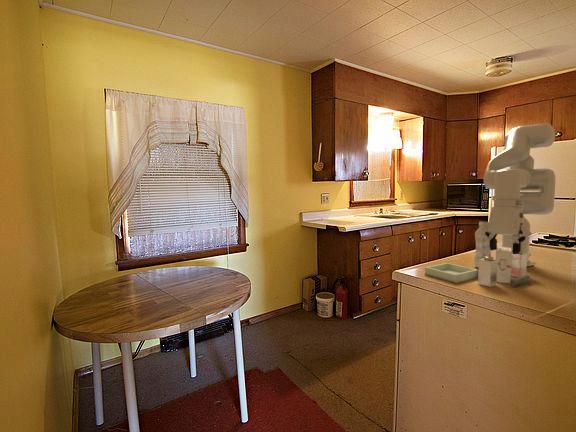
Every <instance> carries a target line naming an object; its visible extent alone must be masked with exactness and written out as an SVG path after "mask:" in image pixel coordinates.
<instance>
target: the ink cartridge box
mask: <svg viewBox="0 0 576 432" xmlns="http://www.w3.org/2000/svg"><path fill="white" fill-rule="evenodd" d="M512 250H513V246H512V241H511V248H505V247H502V246H497V249H496V250H495V260H498V261H497V283H501V284H508V285H511V279H512V276H511V270H512Z"/></svg>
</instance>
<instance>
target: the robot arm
mask: <svg viewBox="0 0 576 432" xmlns="http://www.w3.org/2000/svg"><path fill="white" fill-rule="evenodd" d="M555 139H556V132H555V129H554V127H553V126H552V125H551V124H550V123H545V122H544V123H543V122H542V123H535V124H527V125H520V126H517V127H514V128H511V130H509V132H508V133H506V135H505V136H504V139H503V141H504V143H503V144H504V148H503V151H501V152H500V153H498V154H497V155H495V156H494V157H493V158H492V159H491V160H489V162H488V163H487V165H486V168H485V171H484V175H483V184H484V187H485V188H487V189H489V190H494V191H493V192H494V194H493V199H494V201H493V206H492V207H491V210H490V213H489V216H488V217H489V218H488V222H489V224H487V225H486V226H484V227H483V228H482V230H483V232H484V233H485V235H486V236H487V237H488V239H489V240H490V251H496V249H497V247H498V239H497V236H498V235H502V241H501V242H502V243H501V247H505V248H511V241H512V246H513V250H512V252H513V254H519V252H520V251H523V253H526V254H527V267H532V266H534V263H533V261H531V260H529V259H530V258H531V257H532V253H531V252H530V240H531V239H530V237H531V236H532V234H533V233H532V232H531V224H530V221H529V220H528V219H527V218H526V217H525V215H538V216H539V215H545V216H546V215H550V214H551V213H552V212H553V211H554V207H555V196H556V195H555V194H556V174H555V172H554V170H552V169H551V168H534V167H535V159H534V157H532V155H531V154H530V153H531V149H537V148H548V147H551V146H552V145H553V143H554V142H555ZM488 229H489V230H488Z"/></svg>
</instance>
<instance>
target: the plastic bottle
mask: <svg viewBox="0 0 576 432" xmlns="http://www.w3.org/2000/svg"><path fill="white" fill-rule="evenodd" d="M487 224H489V221H483V220H482V221H479V223H478V228H477V230H475V232H474V238H475V253H474V258H473V264H474V267H475V268H477V269H479V259H483V258H484V256H490V257H492V256H491V255H492V254H491V253H492V252H491V251H492V250H490V240H489V239H488V237H487V236H486V235H485V233H484V232H483V230H482V228H483V227H484V226H486V225H487ZM488 230H489V229H488Z"/></svg>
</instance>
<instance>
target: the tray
mask: <svg viewBox="0 0 576 432" xmlns="http://www.w3.org/2000/svg"><path fill="white" fill-rule="evenodd" d="M478 272H479V269H478V268H477V269H476V268H472V267H468V266H462V265H458V264H455V263H450V262H445V263H438V264H435V265H430V266H425V267H424V275H426V274H427V275H426V276H429V275H430V277H432V276H433V278H436V277H437V278H436V279H439V278H440V280H442V279H443V281H446V282H450V283H453V284H458V283H461V282H465V281H470V280H473V279H478Z"/></svg>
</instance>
